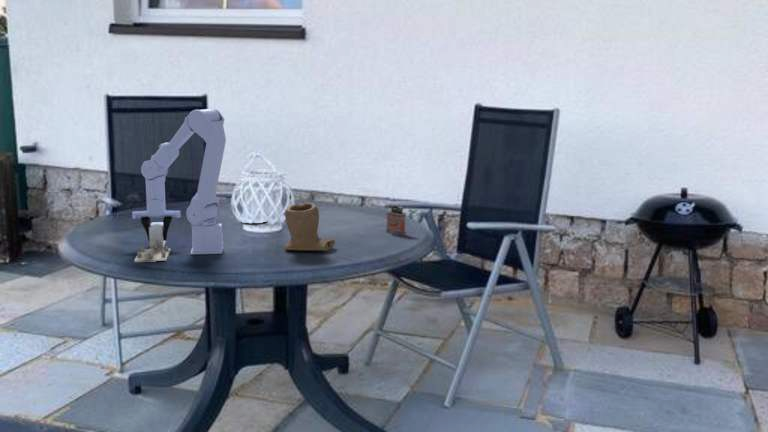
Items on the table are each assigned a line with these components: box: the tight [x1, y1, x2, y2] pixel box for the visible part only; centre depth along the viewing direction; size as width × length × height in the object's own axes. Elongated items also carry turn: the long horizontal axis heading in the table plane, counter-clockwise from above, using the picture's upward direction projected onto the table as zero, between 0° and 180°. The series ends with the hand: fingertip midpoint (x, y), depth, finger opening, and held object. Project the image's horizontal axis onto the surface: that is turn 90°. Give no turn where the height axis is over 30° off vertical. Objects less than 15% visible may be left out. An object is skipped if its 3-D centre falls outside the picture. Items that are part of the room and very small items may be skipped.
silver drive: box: [148, 221, 167, 249], centre depth 252 cm, size 4×8×7 cm, turn 9°
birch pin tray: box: [133, 244, 172, 263], centre depth 239 cm, size 9×14×2 cm, turn 9°
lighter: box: [385, 203, 407, 236], centre depth 275 cm, size 8×3×10 cm, turn 47°
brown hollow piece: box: [284, 202, 336, 252], centre depth 248 cm, size 15×12×15 cm
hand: (157, 240), depth 252 cm, fingers closed on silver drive, 4 cm apart
